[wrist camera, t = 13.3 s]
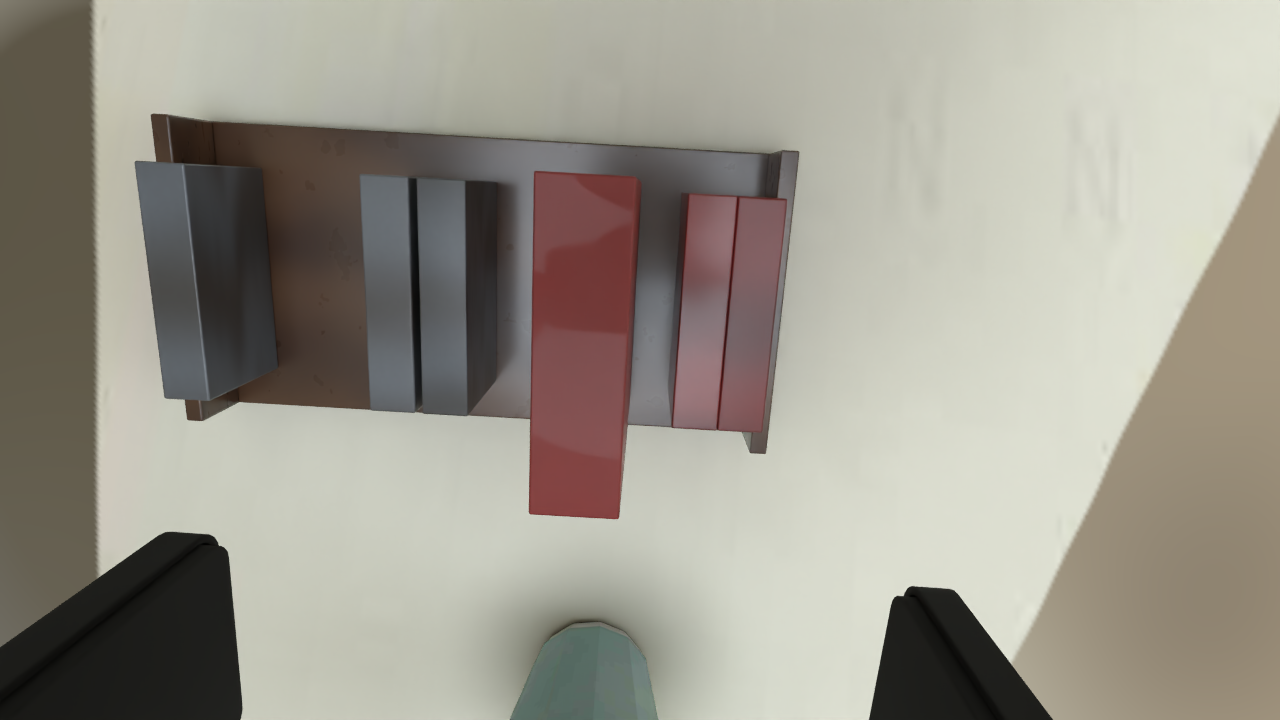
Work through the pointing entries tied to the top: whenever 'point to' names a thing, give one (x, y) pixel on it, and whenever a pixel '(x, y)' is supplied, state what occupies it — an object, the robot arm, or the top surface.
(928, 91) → the top surface
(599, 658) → the disposable coffee cup
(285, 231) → the book rack
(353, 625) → the top surface
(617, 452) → the red book
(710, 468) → the top surface
